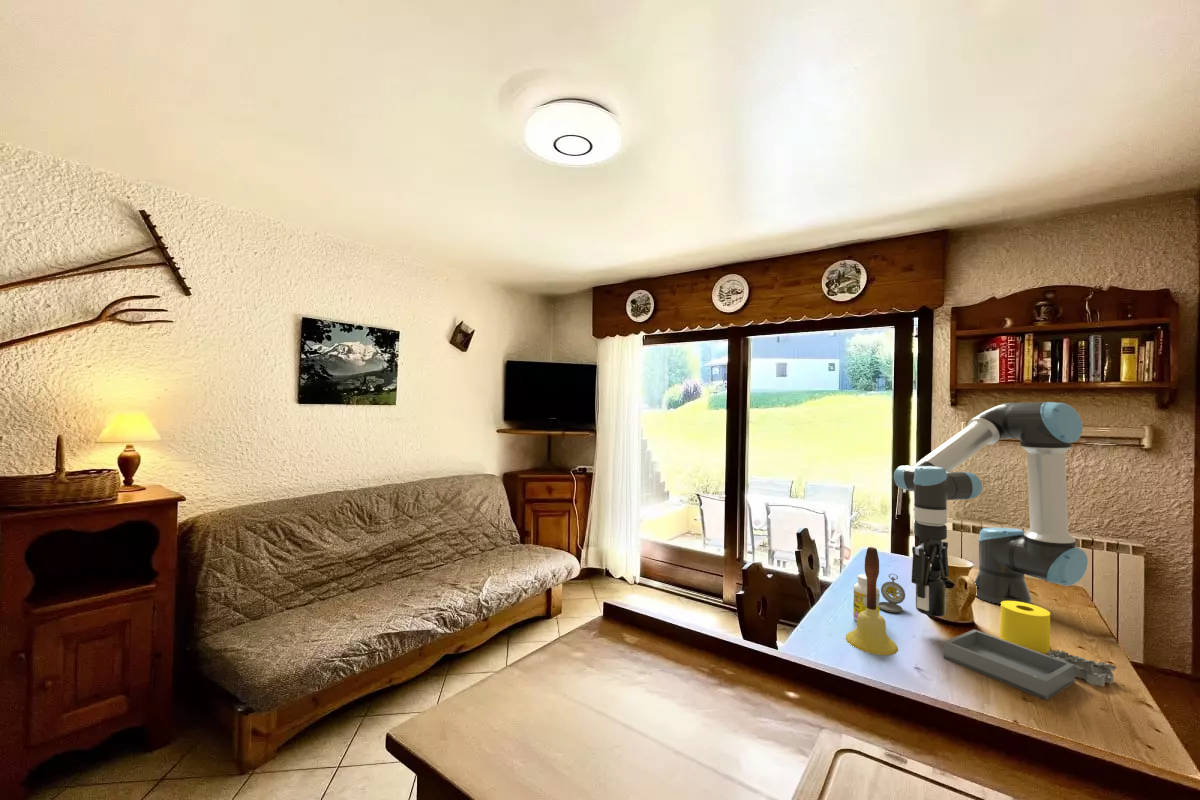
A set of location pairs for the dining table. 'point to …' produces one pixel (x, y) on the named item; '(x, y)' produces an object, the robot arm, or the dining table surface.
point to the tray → (1010, 663)
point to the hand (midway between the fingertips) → (930, 606)
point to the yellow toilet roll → (1025, 625)
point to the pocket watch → (892, 602)
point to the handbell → (871, 616)
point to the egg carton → (1087, 668)
